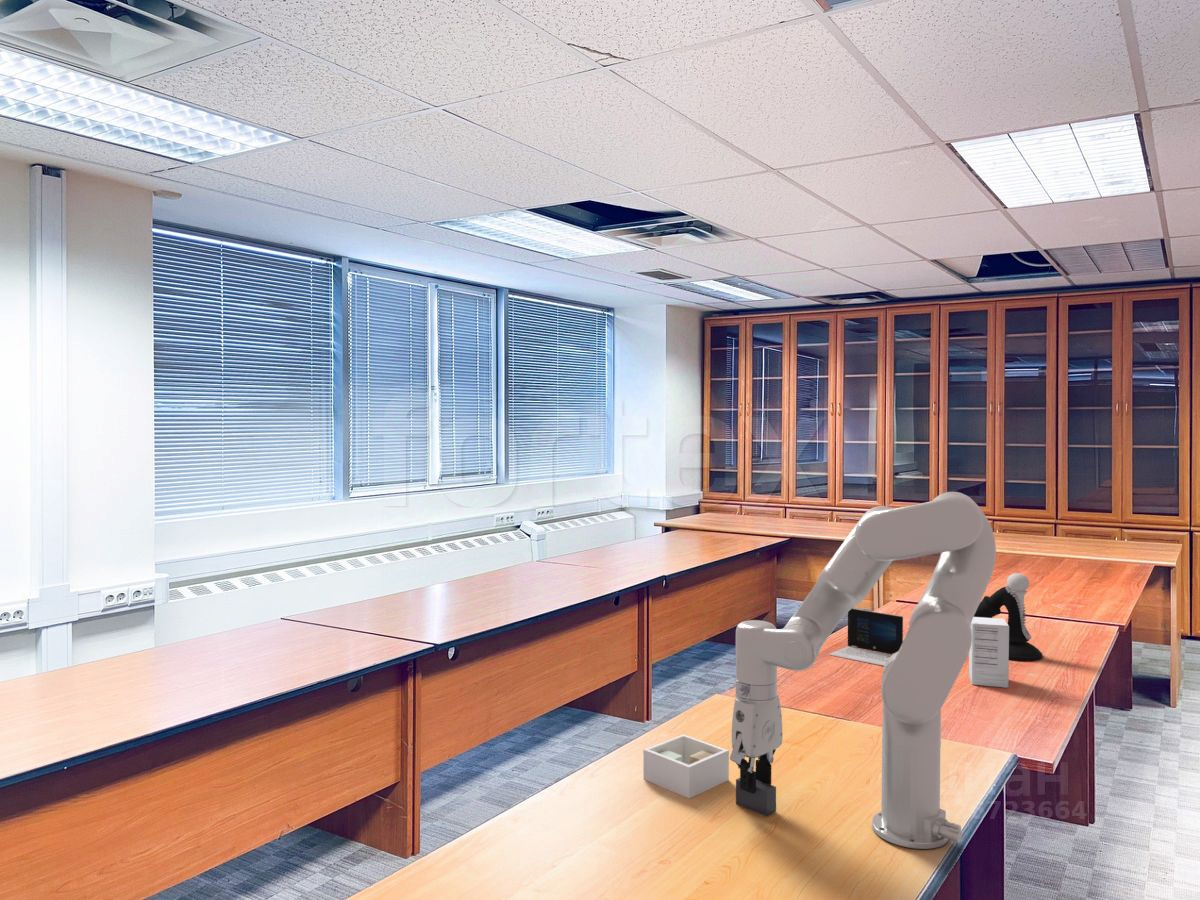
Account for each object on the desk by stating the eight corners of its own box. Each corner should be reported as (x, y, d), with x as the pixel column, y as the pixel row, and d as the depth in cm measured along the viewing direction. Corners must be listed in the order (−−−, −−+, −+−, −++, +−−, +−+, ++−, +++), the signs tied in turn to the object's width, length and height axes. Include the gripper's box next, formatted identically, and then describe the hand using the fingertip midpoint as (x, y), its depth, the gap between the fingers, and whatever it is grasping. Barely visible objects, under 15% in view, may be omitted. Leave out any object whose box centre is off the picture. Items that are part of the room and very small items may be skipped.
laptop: (828, 656, 258) (828, 614, 258) (847, 648, 267) (848, 607, 267) (884, 668, 246) (885, 623, 246) (903, 659, 255) (903, 616, 255)
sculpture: (1034, 664, 248) (1035, 579, 247) (951, 650, 263) (952, 570, 262) (1047, 653, 259) (1049, 572, 258) (967, 640, 275) (968, 564, 274)
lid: (805, 815, 156) (805, 783, 156) (763, 839, 147) (763, 805, 147) (748, 793, 166) (748, 763, 166) (705, 814, 157) (705, 782, 157)
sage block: (682, 775, 169) (682, 755, 169) (669, 781, 166) (669, 761, 166) (667, 769, 172) (667, 750, 172) (654, 775, 169) (654, 755, 169)
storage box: (728, 780, 169) (728, 750, 168) (689, 798, 160) (689, 767, 160) (683, 762, 177) (683, 734, 177) (643, 779, 169) (643, 749, 169)
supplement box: (1009, 688, 226) (1010, 626, 225) (971, 685, 229) (972, 623, 228) (1004, 678, 235) (1005, 618, 234) (968, 675, 238) (969, 615, 237)
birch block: (718, 776, 169) (718, 756, 168) (705, 781, 166) (705, 761, 166) (702, 770, 172) (702, 750, 171) (689, 775, 169) (689, 755, 169)
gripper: (744, 704, 147) (744, 808, 148) (799, 684, 159) (798, 780, 159) (711, 694, 153) (711, 794, 153) (766, 675, 164) (765, 768, 165)
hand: (755, 786), depth 156 cm, fingers open, 4 cm apart
